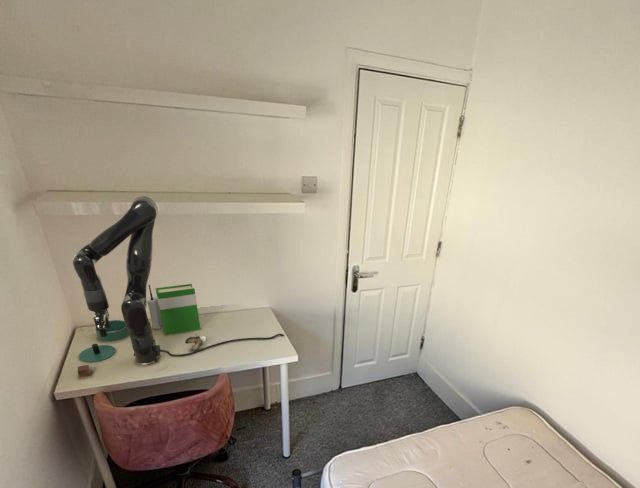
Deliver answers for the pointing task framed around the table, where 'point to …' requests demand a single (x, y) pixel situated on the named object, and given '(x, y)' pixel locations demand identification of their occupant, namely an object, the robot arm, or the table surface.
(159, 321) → the vintage mobile phone
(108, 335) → the tin
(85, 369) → the block
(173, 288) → the hardback book
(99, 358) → the lid
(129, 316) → the robot arm
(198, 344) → the eagle figurine
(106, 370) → the table surface
